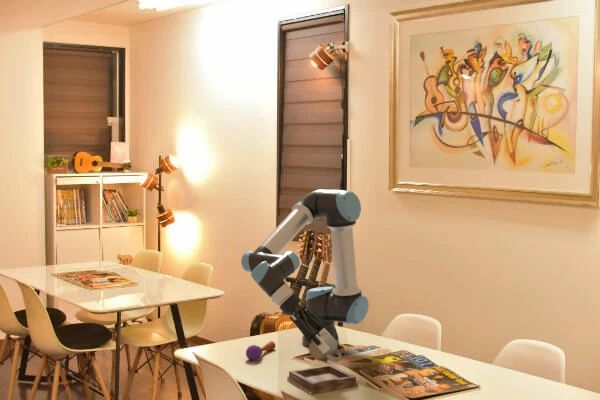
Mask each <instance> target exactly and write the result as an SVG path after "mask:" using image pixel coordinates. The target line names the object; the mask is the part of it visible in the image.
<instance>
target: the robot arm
mask: <svg viewBox="0 0 600 400" xmlns="http://www.w3.org/2000/svg"><path fill="white" fill-rule="evenodd" d="M361 211H362V204H361V201H360V199H359V197H358V195H357V194H356V193H355V192H354V191H351V190H344V189H325V188H322V189H321V188H320V189H316V190H312V191H311V192H309V193H308V194H306V195H304V196H303V197H301V198H300V199H299V200H298V201H297V202H295V204H294V205H293V206H292V207H291V212H290V213H289V214H287V216H286V217H285V218H284V219H283V220H282V221H281V222H280V223H279V225H278V226H276V227H275V229H274V230H273V231H272V232H271V233H270V234H269V235H268V236H267V237H266V239H265V240H263V242H261V244H260V245H258V247H257V248H256V249H255V250H254V251H253V250H251V251H246V252H245V253H243V254H242V257H241V263H240V264H241V267H242V269H243V270H244V271H246V272H250V276H251V278H252V279H253V281H254V282H255V284H257V286H258V287H260V288H261V290H262V291H263V292H265V293H266V295H268V297H269V299H271V302H272V303H274V304H275V305H277V306H279V310H280V311H282V313H284V314H285V315H288V314H290V316H289V319H290V320H291V321H292V322H293V324H294V325H295V326H296V327H297V328H298V330H299V332H301V334H302V336H301V344H302V345H303V346H306V347H309V346H310V343H311V342H312V341H313V343H314V344H315V345H316V346H317V347H318V348H319V349H320V350H321V351H322V352H323V353H324V354H325V353H326V352H327V351H328V350H329V349H330V348H329V347H328V346H327V345H326V343H325V342H324V341H323V340H322V339H321V338H320V337H319V336H321V335H323V334H330V335H332V336H333V337H334V338H335V340H336V342H337V346H338V345H339V343H340V338H339V334H338V332H337V328H336V325H335V323H336V322H339V323H344V324H348V325H358V324H361V323H362V322H363V321H364V320H365V318H366V317H367V314H368V311H369V299H368V298H367V297H366V296H365V295H363V294H362V288H361V287H360V286H358V282H357V281H358V280H357V268H356V255H355V245H354V232H353V227H354V226H355V225H356V224H357V223H356V221H358V219H359V218H360V215H361V214H360V213H361ZM318 219H322V220H325V225H326V227H327V228H329V229H330V236H331V237H330V239H331V248H332V250H331V251H332V259H333V260H332V262H333V272H334V283H335V284H334V285H335V287H333V286H319V287H314V288H310V289H308V290H307V291H306V297H305V304H306V305H303V306H302V305H301V302H302V299H301V297H299V296H298V294H296V293H294V290H293V289H292V288H291V287H290V285H288V284H287V282H285V279H287V278H288V277H289V276H291V275H292V274H294V273H295V271H296V270H297V269H299V267H300V266H301V262H300V257H299V256H298V255H297V253H295V252H294V251H292V250H291V251H290V250H288V251H285V252H283V251H284V249H285V248H286V247H287V246H288V245H289V243H291V242H292V240H293V239H294V238H295V237H296V236H297V235H298V234H299V233H300V232H301V231H302V230H303V228H304V227H306V225H311V224H312V222H313V221H314V220H318ZM281 253H282V254H281ZM280 254H281V255H280Z"/></svg>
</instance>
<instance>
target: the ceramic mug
mask: <svg viewBox="0 0 600 400" xmlns="http://www.w3.org/2000/svg"><path fill="white" fill-rule="evenodd" d="M319 337H320V338H321V339H322V340H323V341H324V342H325V343H326V345H327V346H328V347H329V348H330V349H329V350H328V351H327V352H326V353H325V354H324V353H323V352H322V351H321V350H320V349H319V348H318V347H317V346H316V345H315V344H314V343H313V341H312V342H311V343H310V346H308V351H309V354H310V355H311V357H312V358H313V359H315V360H324V359H326V358H327V359H329V361H330V360H331V361H334V362H339V360H340V359H341V358H342V353H341V352H340V350H338V345H337V342H336V340H335V338H334V337H333V336H332V335H330V334H323V335H321V336H319ZM334 354H335V355H337V356H334Z"/></svg>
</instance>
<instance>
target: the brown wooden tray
mask: <svg viewBox="0 0 600 400" xmlns="http://www.w3.org/2000/svg"><path fill="white" fill-rule="evenodd" d="M288 375H289V376H286V377H287V378H286V380H287V381H288V380H289V381H288V382H290V383H292V384H293V383H294V385H295V384H296V386H297V385H298V386H297V387H299V386H300V387H302V388H303V389H302V388H301V389H302V390H304V389H306V390H307V391H309V392H311V393H312V394H311V393H310V394H311V395H315V394H314V393H317V394H321V393H322V392H323V393H329V392H334V391H338V390H344V389H348V388H354V387H359V382H357V377H356V376H355V375H353V374H351V373H349V372H346V371H345V370H344V369H341V368H339V367H337V366H335V365H333V364H325V365H320V366H314V367H306V368H301V369H300V368H299V369H295V370H289V372H288ZM300 387H299V388H300ZM306 390H305V391H306ZM307 391H306V392H307ZM309 392H308V393H309Z"/></svg>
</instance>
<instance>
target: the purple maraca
mask: <svg viewBox="0 0 600 400" xmlns="http://www.w3.org/2000/svg"><path fill="white" fill-rule="evenodd" d="M275 349H276V343H275V342H274V341H272V340H270V341H269V342H267V343H265V345H263V346H262V347H260V346H259V345H256V344H255V345H254V344H252V345H250V346H249V345H248V347H247V348H246V350H245V356H246V358H247V359H248V360H249V361H251V362H256V361H259V359H261V356H262V355H263V352H265V351H266V352H267V351H271V350H275Z"/></svg>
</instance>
